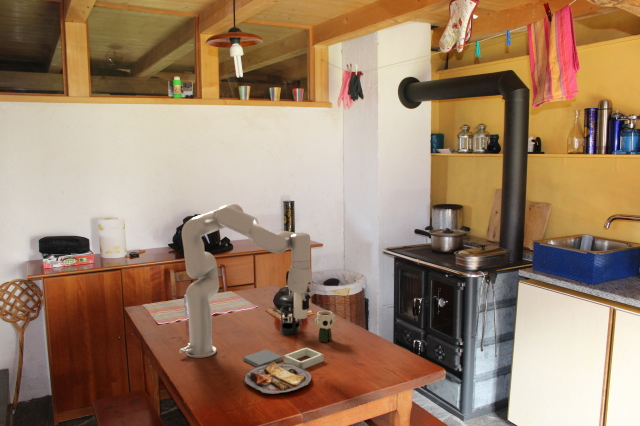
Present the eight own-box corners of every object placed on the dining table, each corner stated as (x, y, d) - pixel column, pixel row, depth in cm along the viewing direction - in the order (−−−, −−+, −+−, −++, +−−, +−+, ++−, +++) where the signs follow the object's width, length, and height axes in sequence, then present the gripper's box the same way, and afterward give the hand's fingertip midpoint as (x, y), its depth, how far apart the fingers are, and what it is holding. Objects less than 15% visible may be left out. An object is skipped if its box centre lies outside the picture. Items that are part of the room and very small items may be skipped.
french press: (283, 337, 255) (283, 289, 251) (275, 331, 263) (275, 284, 260) (306, 333, 260) (306, 285, 257) (298, 327, 268) (297, 281, 265)
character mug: (318, 345, 245) (318, 317, 243) (310, 340, 251) (310, 312, 249) (339, 340, 250) (339, 313, 249) (330, 335, 256) (330, 308, 255)
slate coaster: (259, 368, 221) (259, 364, 221) (243, 360, 229) (243, 357, 228) (282, 359, 229) (282, 356, 229) (266, 352, 237) (266, 349, 237)
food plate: (232, 380, 210) (232, 371, 209) (279, 363, 226) (279, 355, 225) (275, 404, 192) (275, 395, 192) (322, 384, 208) (322, 375, 208)
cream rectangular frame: (300, 370, 219) (300, 362, 219) (283, 362, 226) (283, 355, 226) (323, 361, 227) (323, 354, 227) (306, 354, 235) (306, 347, 235)
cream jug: (299, 319, 220) (299, 290, 218) (290, 316, 224) (290, 287, 222) (313, 315, 225) (313, 287, 223) (304, 312, 229) (304, 284, 227)
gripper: (279, 261, 224) (279, 304, 227) (308, 269, 212) (308, 314, 214) (293, 258, 229) (293, 300, 232) (322, 266, 217) (321, 310, 220)
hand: (300, 307), depth 223 cm, fingers closed on cream jug, 5 cm apart
